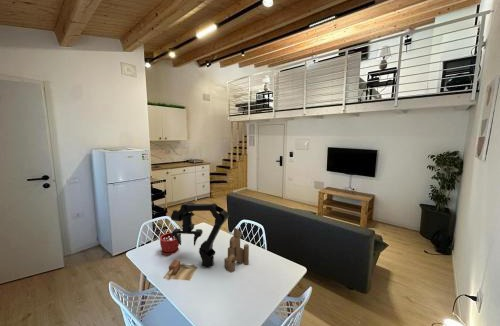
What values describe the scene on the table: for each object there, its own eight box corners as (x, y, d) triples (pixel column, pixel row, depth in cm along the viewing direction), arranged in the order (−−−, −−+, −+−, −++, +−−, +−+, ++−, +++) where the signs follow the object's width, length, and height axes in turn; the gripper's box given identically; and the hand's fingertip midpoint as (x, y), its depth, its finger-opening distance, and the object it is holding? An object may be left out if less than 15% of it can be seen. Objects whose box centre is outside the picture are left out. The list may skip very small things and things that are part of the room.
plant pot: (156, 254, 156) (155, 237, 154) (170, 246, 167) (170, 230, 166) (169, 259, 150) (169, 242, 148) (183, 250, 161) (183, 234, 160)
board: (197, 268, 139) (197, 263, 139) (189, 282, 126) (189, 276, 125) (173, 266, 141) (173, 261, 140) (162, 280, 127) (162, 274, 127)
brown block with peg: (180, 268, 137) (180, 260, 136) (172, 279, 126) (172, 270, 125) (174, 268, 137) (174, 259, 137) (165, 279, 126) (165, 270, 126)
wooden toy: (230, 273, 135) (230, 233, 132) (224, 268, 140) (224, 230, 137) (249, 263, 145) (250, 227, 142) (243, 259, 150) (243, 224, 147)
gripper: (204, 218, 151) (204, 239, 152) (177, 217, 151) (178, 239, 153) (200, 224, 139) (200, 247, 141) (170, 223, 140) (171, 247, 142)
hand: (187, 245), depth 145 cm, fingers open, 9 cm apart
